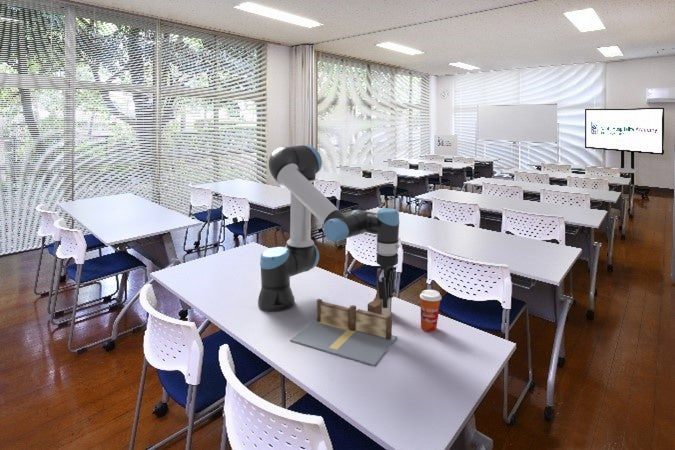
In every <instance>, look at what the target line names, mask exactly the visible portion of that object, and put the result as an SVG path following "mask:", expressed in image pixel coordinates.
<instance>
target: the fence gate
mask: <svg viewBox="0 0 675 450" xmlns="http://www.w3.org/2000/svg"><path fill="white" fill-rule="evenodd" d="M392 329H393V316H392V315H389V316H386V315H382V314H377V313H373V312H369V311H368V310H364V309H359V308H358V309H356V330H357V331H361V332H365V333H369V334H372V335H376V336H380V337H384V338H386V339H391V337H392V332H393V330H392Z"/></svg>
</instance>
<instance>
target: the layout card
mask: <svg viewBox="0 0 675 450" xmlns="http://www.w3.org/2000/svg"><path fill="white" fill-rule="evenodd" d="M397 338H398V336H397V335H394V334H393V335H392V337H391V339H386V338H384V337H380V336H376V335H372V334H369V333H365V332H361V331H357V330H355V331H351V330H349V329H346V328H342V327H339V326H335V325H331V324H327V323H323V322H317V318H316V319H314V320H313V321H312V322H310V323H309V324H308V325H307V326H305V327H304V328H302V329H301V330H300V331H299V332H298V333H297V334H295V335H294V336H292V338H290V339H289V342H292V343H294V344H299V345H302V346H305V347H308V348H311V349H315V350H319V351H322V352H325V353H329V354H332V355H335V356H339V357H342V358H346V359H347V360H348V359H349V360H352V361H356V362H359V363H363V364H366V365H368V366H372V367H375V366H376V365H377V364H378V363H379V361H380V360H381V359H382V357H383V356H384V355H385V353H386V352H387V351H388V350H389V349H390V347H391V346H392V344H393V343H394V342H395V341H396V339H397Z"/></svg>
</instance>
